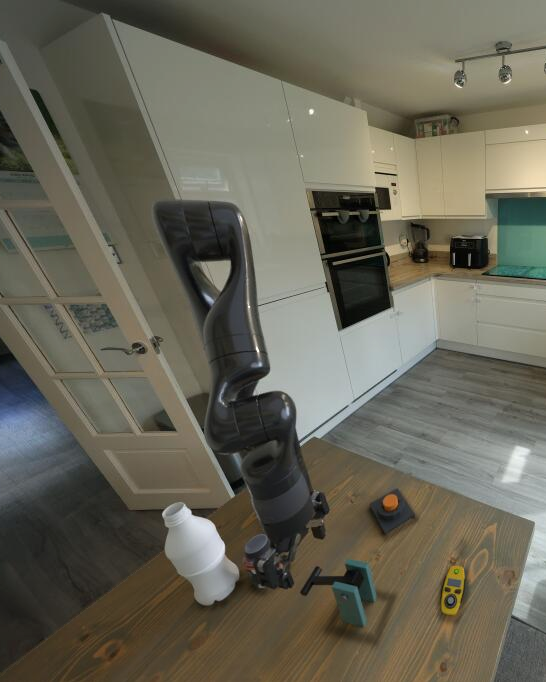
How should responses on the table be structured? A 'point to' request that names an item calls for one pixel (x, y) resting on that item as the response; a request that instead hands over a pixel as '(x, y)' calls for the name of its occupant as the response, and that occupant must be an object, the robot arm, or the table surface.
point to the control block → (392, 512)
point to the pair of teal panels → (354, 594)
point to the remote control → (452, 590)
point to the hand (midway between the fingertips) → (305, 559)
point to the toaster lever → (332, 579)
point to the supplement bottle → (255, 555)
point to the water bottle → (199, 554)
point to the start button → (390, 502)
